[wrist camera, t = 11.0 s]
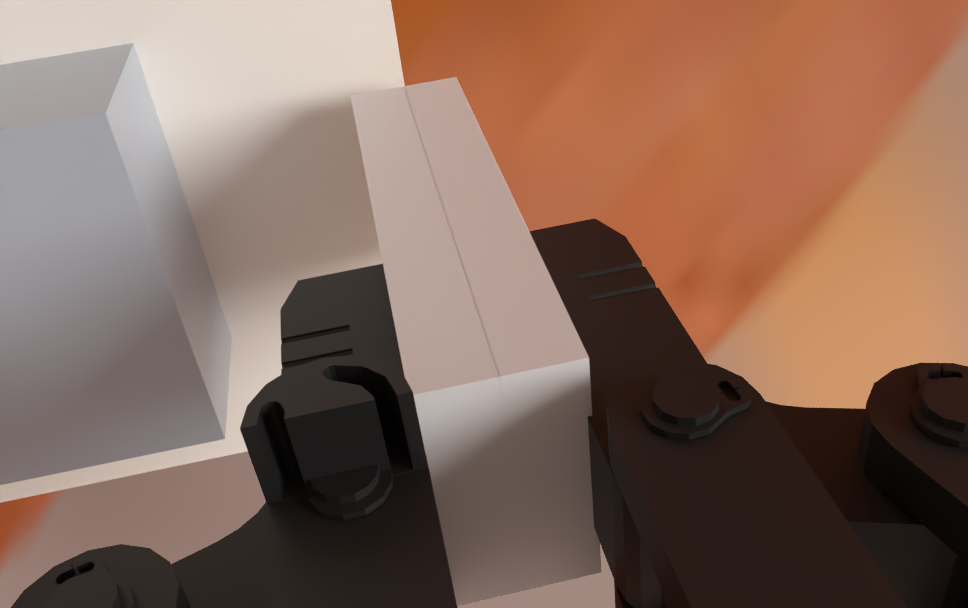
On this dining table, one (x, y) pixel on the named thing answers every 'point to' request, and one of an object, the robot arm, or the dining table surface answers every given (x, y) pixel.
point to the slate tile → (99, 275)
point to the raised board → (240, 155)
